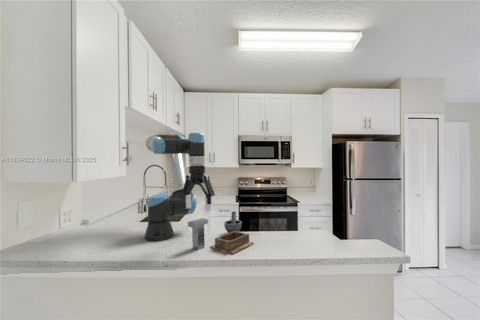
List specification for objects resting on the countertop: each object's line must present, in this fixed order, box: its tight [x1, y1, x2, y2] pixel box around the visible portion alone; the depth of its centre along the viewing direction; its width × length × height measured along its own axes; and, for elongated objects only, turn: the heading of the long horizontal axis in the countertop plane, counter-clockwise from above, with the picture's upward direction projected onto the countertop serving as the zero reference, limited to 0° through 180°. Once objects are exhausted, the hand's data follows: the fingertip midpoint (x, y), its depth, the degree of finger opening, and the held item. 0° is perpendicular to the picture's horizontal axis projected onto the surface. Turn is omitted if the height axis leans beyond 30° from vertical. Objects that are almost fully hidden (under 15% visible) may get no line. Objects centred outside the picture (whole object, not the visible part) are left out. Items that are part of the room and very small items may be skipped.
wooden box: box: [210, 231, 255, 255], centre depth 116 cm, size 14×16×5 cm
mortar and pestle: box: [223, 211, 243, 234], centre depth 136 cm, size 11×9×12 cm
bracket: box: [187, 217, 209, 251], centre depth 115 cm, size 4×9×13 cm, turn 142°
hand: (198, 209), depth 115 cm, fingers open, 13 cm apart
